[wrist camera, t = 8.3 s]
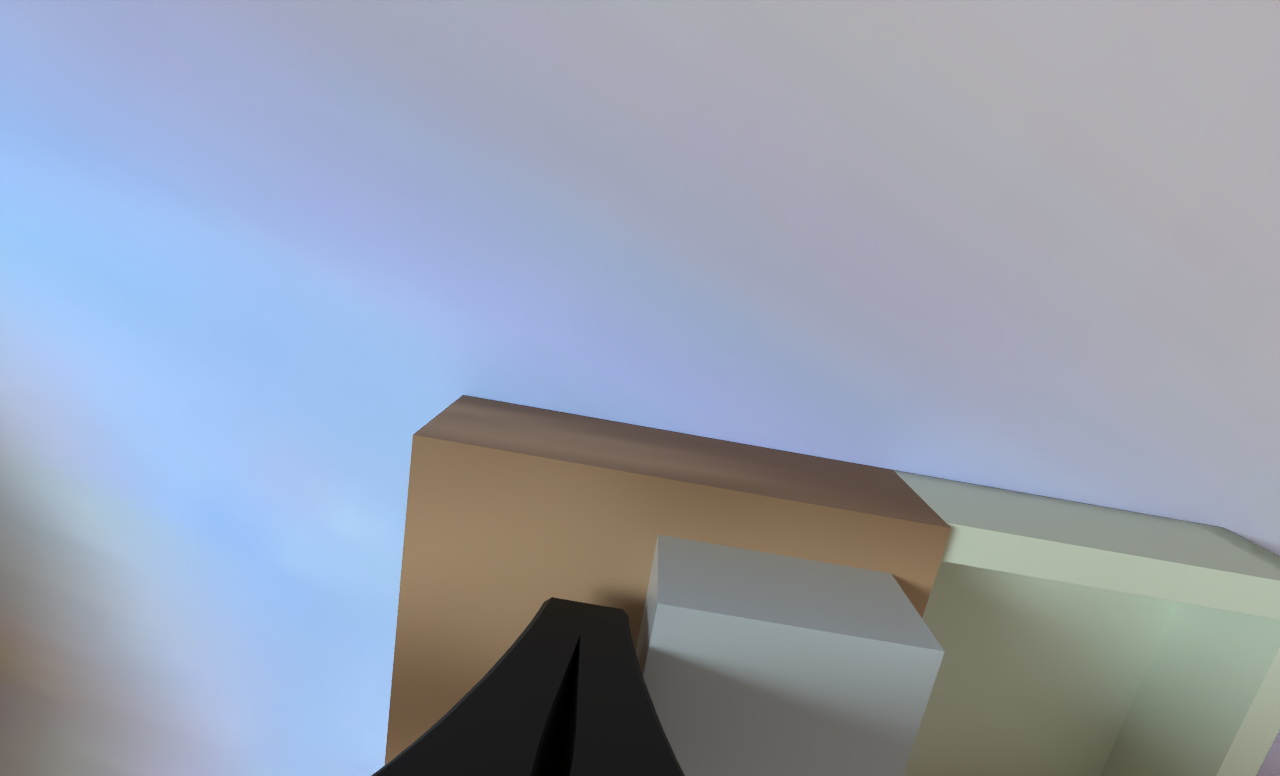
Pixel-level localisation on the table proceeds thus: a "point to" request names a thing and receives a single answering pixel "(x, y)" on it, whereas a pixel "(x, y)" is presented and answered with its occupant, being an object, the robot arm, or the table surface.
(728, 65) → the table surface
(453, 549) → the walnut board
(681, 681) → the slate tile
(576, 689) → the robot arm
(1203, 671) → the tray
